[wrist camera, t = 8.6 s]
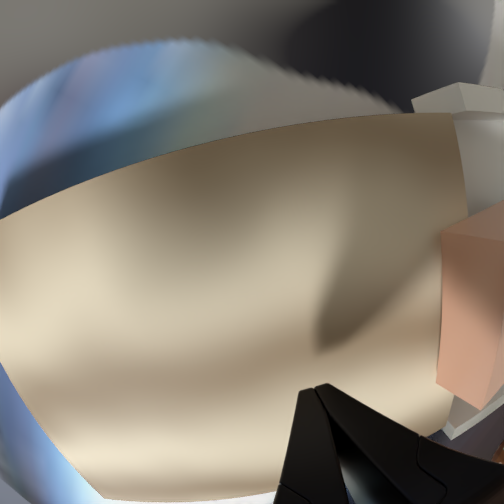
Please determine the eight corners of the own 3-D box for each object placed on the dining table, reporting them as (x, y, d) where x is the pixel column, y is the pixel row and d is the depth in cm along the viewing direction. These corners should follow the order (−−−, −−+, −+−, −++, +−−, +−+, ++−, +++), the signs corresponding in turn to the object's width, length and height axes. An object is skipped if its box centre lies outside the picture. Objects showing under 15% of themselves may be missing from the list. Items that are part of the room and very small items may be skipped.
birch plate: (423, 399, 13) (445, 426, 10) (113, 467, 12) (104, 498, 10) (411, 123, 10) (451, 112, 7) (-6, 233, 9) (-43, 244, 7)
